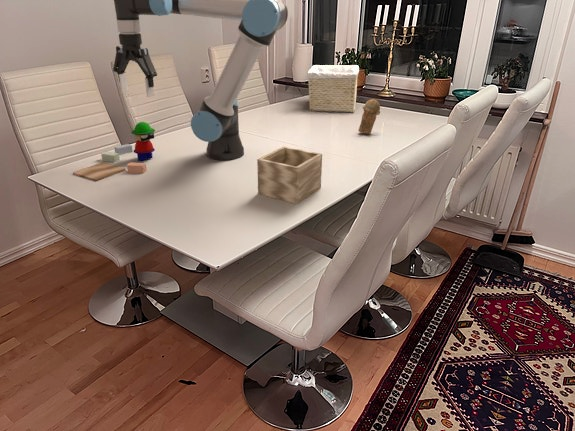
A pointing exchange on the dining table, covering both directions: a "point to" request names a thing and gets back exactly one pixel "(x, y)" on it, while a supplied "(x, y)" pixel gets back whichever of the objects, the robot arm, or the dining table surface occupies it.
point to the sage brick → (110, 156)
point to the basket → (333, 87)
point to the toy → (143, 141)
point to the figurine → (369, 115)
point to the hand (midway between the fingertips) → (137, 94)
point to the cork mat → (99, 171)
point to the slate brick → (123, 149)
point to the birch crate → (289, 174)
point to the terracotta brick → (136, 168)
